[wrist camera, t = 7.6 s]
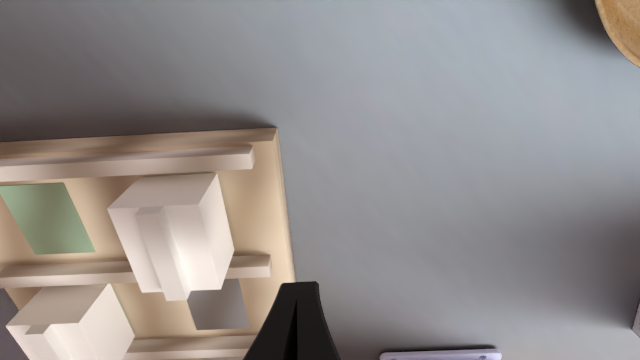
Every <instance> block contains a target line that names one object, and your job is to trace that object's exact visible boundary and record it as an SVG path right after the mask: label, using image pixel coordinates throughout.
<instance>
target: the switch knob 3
mask: <svg viewBox="0 0 640 360" xmlns="http://www.w3.org/2000/svg"><path fill="white" fill-rule="evenodd" d="M244 357H245V356H244ZM244 357H216V358H199V359H198V360H243V358H244Z"/></svg>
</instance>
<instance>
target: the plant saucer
mask: <svg viewBox="0 0 640 360" xmlns="http://www.w3.org/2000/svg"><path fill="white" fill-rule="evenodd" d="M595 4H596V8H597V11H598V14H599V16H600V19H601V21H602V24H603V26H604V28H605V30H606V32H607V34H608V36H609V37H610V39H611V40H612V42H613V43H614V44H615V45H616V47H617V48H618V50H619V51H620V52H621V53H622V54H623V55H624V56H625V57H626V58H627V59H628V60H629V61H631V63H633V64H634V65H636V66H637V67H639V68H640V0H595Z"/></svg>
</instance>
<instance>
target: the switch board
mask: <svg viewBox="0 0 640 360" xmlns="http://www.w3.org/2000/svg"><path fill="white" fill-rule="evenodd" d="M208 173H217V174H218V179H219V183H220V188H221V192H222V197H223V201H224V206H225V210H226V215H227V219H228V224H229V228H230V233H231V237H232V242H233V246H234V253H233V256H232V259H231V262H230V264H229V267H228V270H227V273H226V276H225V279H224V282H223V285H222V288H221V290H197V291H191V292H190V294H189V297H188V299H187V300H177V301H166V298H165V295H164V293H163V292H148V293H142V292H141V289H140V287H139V285H138V282H137V280H136V277H135V275H134V273H133V270H132V268H131V265H130V263H129V261H128V258H127V256H126V253H125V251H124V249H123V246H122V244H121V241H120V239H119V237H118V234H117V232H116V229H115V227H114V225H113V222H112V220H111V217H110V215H109V213H108V210H107V208H108V207H109V206H110V205H111V204H112V203H113V202H114V201H115V200H116V199H118V198H119V197H120V196H121V195H122V194H123V193H124V192H125V191H126V190H127V189H128V188H129V187H130V186H131V185H132V184H133V183H134V182H135V181H136V180H137V179H138V178H139V177H148V176H168V175H188V174H208ZM291 282H296V277H295V269H294V261H293V253H292V244H291V236H290V228H289V219H288V211H287V203H286V195H285V186H284V178H283V170H282V161H281V153H280V145H279V137H278V128H277V127H275V128H256V129H238V130H219V131H201V132H182V133H164V134H145V135H127V136H108V137H90V138H71V139H52V140H34V141H15V142H0V288H5V290H6V291H7V293H8V294H9V296H10V297H11V299H12V300H13V302H14V303H15V305H16V306H17V308H18V309H19V311H20V310H21V309H22V308H23V307H24V306H25V305H26V304H27V303H28V302H29V301H30V300H31V299H32V298H33V297H34V296H35V295H36V294H37V293H38V292H39V291H40V290H41V289H42V288H43V287H44V286H67V285H91V284H111V286H112V288H113V290H114V292H115V295H116V297H117V299H118V301H119V303H120V305H121V307H122V310H123V312H124V314H125V316H126V318H127V320H128V322H129V325H130V327H131V329H132V331H133V333H134V335H135V337H134V339H133V341H132V343H131V344H130V346H129V348H128V350H127V352H126V353H125V355H124V357H123V359H122V360H198V359H199V358H216V357H244V356H245V355H246V353H247V352H248V350H249V348H250V347H251V345H252V343H253V341H254V340H255V338H256V336H257V335H258V333H259V331H260V329H261V327H262V325H263V323H264V321H265V319H266V317H267V316H268V314H269V311H270V309H271V307H272V305H273V303H274V300H275V298H276V296H277V293H278V291H279V288H280V285H281V284H282V283H291Z"/></svg>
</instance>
